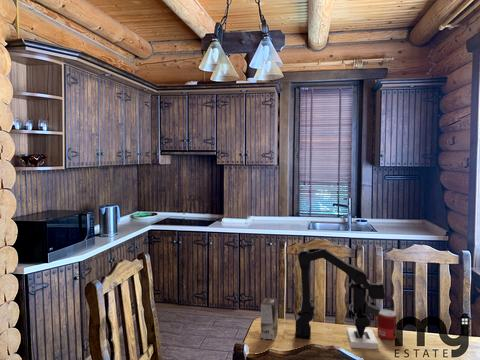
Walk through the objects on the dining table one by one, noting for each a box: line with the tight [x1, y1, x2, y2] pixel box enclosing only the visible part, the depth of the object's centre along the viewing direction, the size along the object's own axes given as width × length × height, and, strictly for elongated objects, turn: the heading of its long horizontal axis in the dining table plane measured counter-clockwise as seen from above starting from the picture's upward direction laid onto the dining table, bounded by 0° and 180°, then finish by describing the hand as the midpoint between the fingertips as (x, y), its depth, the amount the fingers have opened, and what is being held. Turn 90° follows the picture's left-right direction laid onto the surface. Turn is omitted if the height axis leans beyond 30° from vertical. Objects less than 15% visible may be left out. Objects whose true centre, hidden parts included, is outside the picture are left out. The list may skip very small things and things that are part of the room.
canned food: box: [376, 308, 397, 341], centre depth 160 cm, size 8×8×11 cm
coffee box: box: [260, 297, 279, 341], centre depth 162 cm, size 9×6×16 cm
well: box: [346, 327, 379, 350], centre depth 156 cm, size 11×14×2 cm
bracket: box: [355, 327, 368, 339], centre depth 156 cm, size 4×5×7 cm
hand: (359, 332), depth 156 cm, fingers open, 9 cm apart
